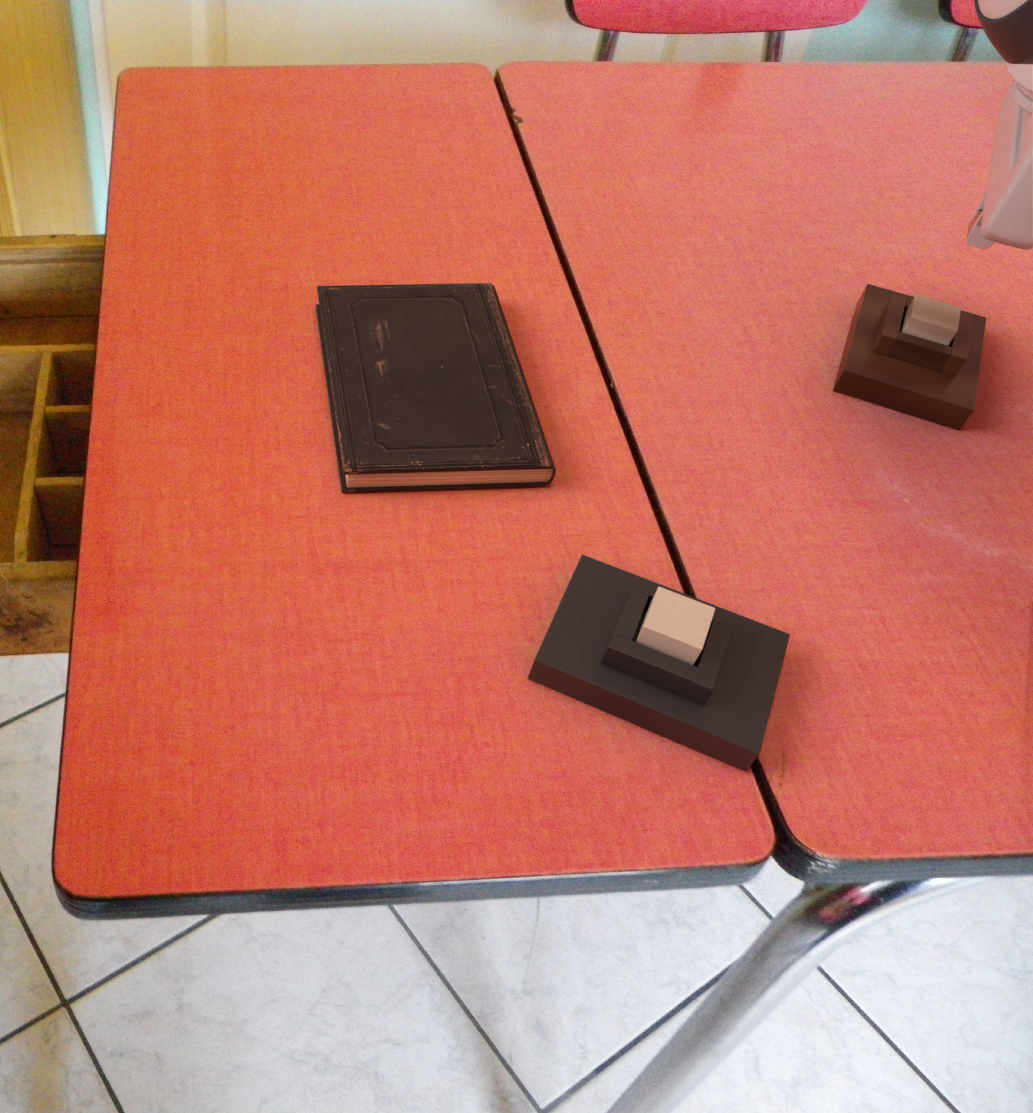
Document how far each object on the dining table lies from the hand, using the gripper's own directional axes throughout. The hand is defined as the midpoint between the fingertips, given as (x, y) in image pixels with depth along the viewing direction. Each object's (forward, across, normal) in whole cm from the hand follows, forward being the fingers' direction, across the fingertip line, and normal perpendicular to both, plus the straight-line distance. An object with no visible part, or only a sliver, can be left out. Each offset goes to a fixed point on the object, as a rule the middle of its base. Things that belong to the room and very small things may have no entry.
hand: (977, 238), depth 79 cm
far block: (+12, 0, 0) cm, 12 cm away
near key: (+8, -42, +11) cm, 44 cm away
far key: (+9, 0, 0) cm, 9 cm away
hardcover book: (+12, -24, +35) cm, 44 cm away
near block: (+12, -42, +11) cm, 45 cm away
